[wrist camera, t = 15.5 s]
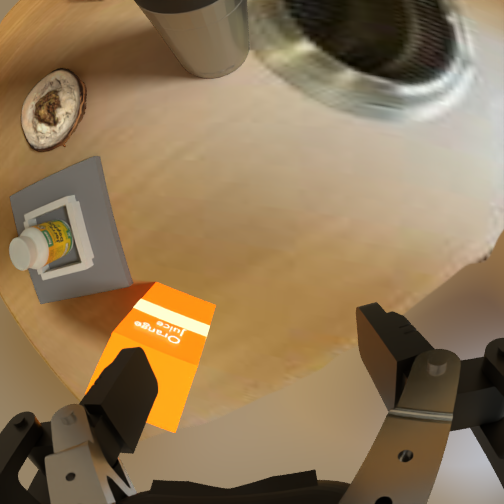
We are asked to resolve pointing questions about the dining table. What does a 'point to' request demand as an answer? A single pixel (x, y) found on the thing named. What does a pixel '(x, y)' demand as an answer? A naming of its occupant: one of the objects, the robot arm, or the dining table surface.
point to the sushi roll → (53, 110)
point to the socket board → (75, 232)
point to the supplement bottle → (41, 245)
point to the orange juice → (164, 346)
